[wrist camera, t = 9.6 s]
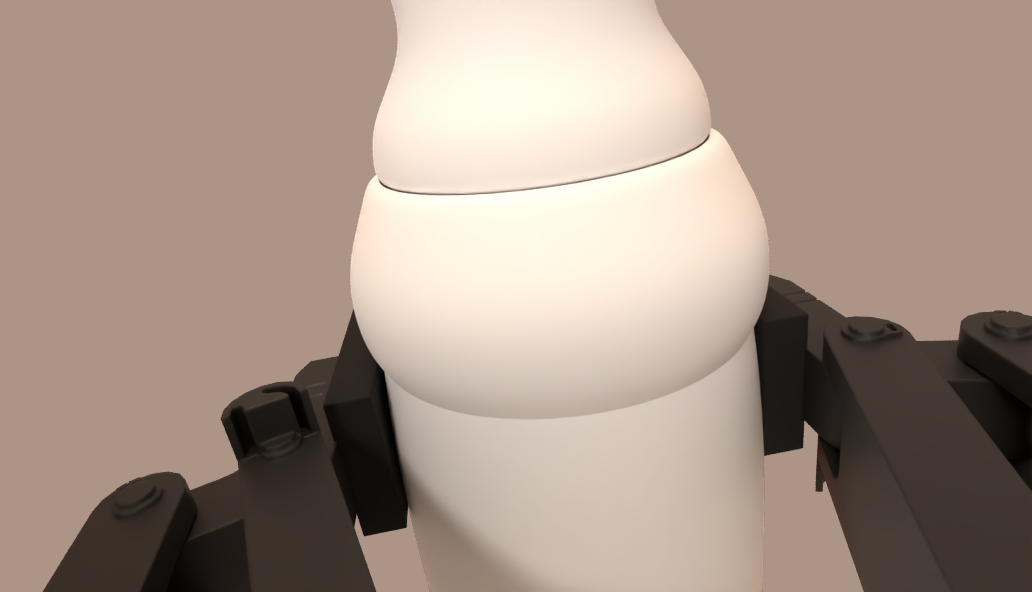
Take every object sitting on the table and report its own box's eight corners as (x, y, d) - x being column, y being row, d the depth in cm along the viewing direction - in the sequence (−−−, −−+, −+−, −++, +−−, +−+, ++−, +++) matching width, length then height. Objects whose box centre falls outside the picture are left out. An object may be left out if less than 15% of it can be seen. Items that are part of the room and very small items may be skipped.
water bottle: (797, 805, 18) (863, -334, 8) (683, 1116, 13) (516, -716, 3) (592, 671, 22) (478, -161, 13) (452, 866, 18) (102, -223, 8)
